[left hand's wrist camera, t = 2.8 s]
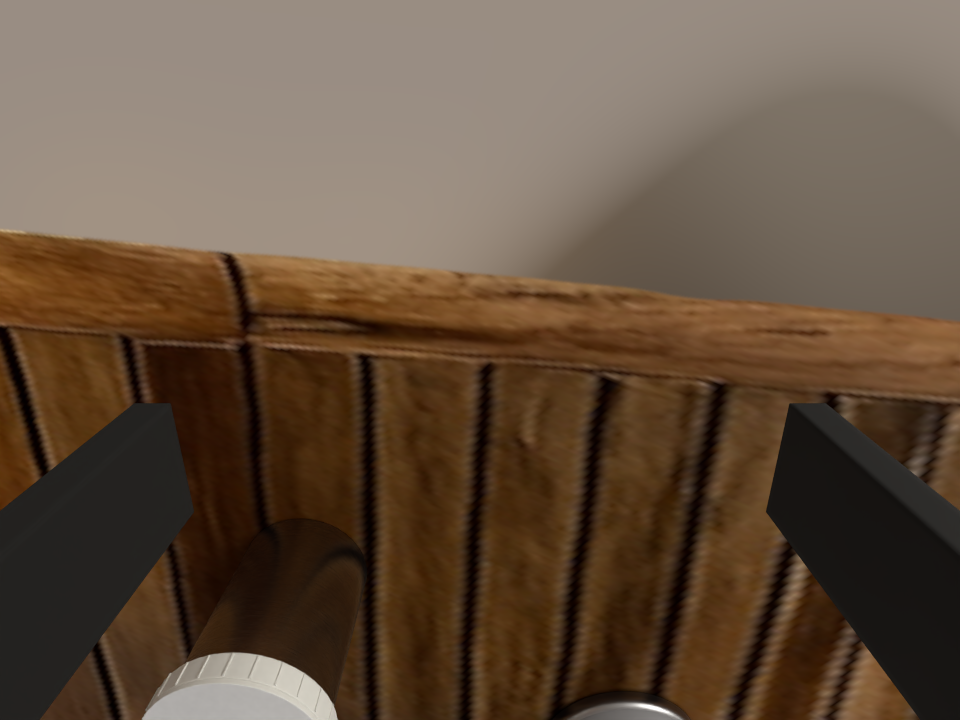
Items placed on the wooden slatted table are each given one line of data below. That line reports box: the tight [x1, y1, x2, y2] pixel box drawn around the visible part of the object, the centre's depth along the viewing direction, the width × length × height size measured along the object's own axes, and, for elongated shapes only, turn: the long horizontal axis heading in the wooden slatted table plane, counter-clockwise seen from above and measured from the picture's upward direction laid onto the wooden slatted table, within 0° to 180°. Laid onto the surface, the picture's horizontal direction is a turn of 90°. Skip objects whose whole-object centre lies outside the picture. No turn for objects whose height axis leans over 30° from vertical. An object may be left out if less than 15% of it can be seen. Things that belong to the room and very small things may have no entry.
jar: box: [185, 519, 367, 705], centre depth 42 cm, size 10×10×15 cm
